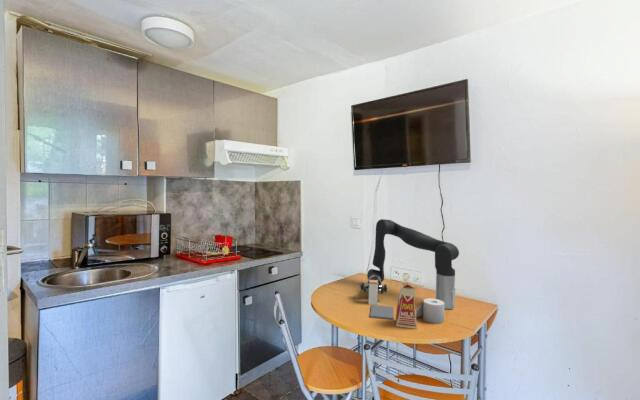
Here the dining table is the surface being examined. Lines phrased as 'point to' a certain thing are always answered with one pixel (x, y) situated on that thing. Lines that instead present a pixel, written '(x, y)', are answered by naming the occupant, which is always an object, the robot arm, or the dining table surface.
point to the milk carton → (406, 307)
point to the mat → (382, 312)
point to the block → (373, 292)
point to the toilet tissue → (431, 311)
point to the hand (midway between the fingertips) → (373, 291)
